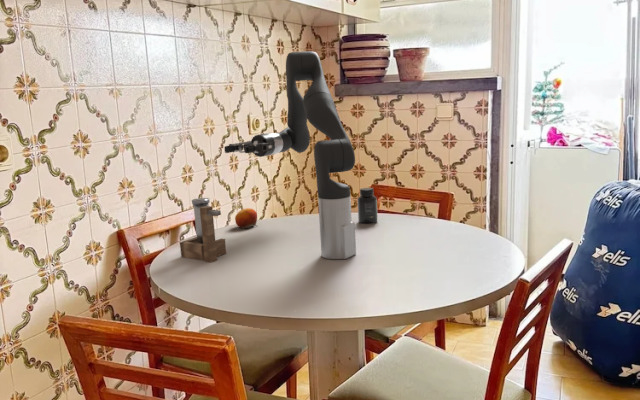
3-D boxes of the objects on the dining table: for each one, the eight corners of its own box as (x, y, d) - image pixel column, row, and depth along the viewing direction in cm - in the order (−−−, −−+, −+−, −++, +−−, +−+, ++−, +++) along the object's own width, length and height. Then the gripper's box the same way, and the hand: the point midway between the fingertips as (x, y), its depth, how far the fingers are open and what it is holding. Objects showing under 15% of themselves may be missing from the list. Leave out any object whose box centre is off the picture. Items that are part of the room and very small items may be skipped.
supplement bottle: (380, 220, 202) (379, 187, 200) (372, 224, 197) (370, 191, 194) (364, 219, 206) (362, 186, 204) (355, 223, 200) (353, 190, 198)
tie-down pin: (218, 252, 172) (212, 198, 169) (205, 257, 168) (200, 201, 164) (206, 251, 175) (200, 197, 172) (193, 255, 171) (187, 200, 167)
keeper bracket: (241, 255, 168) (236, 202, 165) (220, 263, 160) (214, 209, 157) (201, 249, 177) (196, 199, 174) (180, 257, 170) (174, 205, 167)
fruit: (250, 226, 198) (240, 207, 199) (238, 236, 202) (228, 216, 204) (266, 222, 204) (256, 202, 205) (253, 231, 209) (244, 212, 210)
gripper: (250, 133, 196) (217, 138, 183) (282, 133, 188) (251, 137, 175) (252, 155, 197) (219, 161, 184) (284, 155, 189) (253, 161, 176)
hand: (235, 149), depth 179 cm, fingers open, 8 cm apart
